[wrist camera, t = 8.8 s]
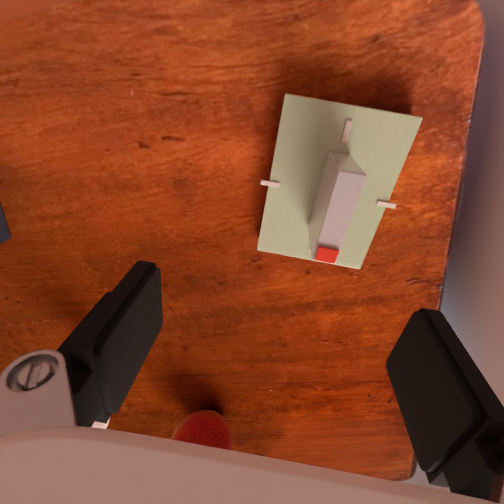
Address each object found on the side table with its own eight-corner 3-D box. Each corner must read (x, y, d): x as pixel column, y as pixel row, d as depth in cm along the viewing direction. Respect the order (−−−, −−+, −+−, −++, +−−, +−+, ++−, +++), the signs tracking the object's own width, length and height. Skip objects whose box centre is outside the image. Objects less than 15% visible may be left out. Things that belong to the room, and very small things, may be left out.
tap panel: (276, 90, 20) (275, 91, 19) (420, 115, 20) (434, 119, 18) (252, 238, 27) (249, 250, 25) (361, 258, 26) (367, 271, 25)
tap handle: (328, 151, 20) (339, 171, 16) (351, 155, 20) (368, 176, 16) (307, 227, 23) (311, 262, 19) (327, 231, 23) (336, 267, 19)
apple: (244, 427, 43) (233, 513, 35) (195, 430, 45) (173, 512, 37) (225, 394, 39) (207, 481, 31) (173, 399, 41) (143, 482, 33)
